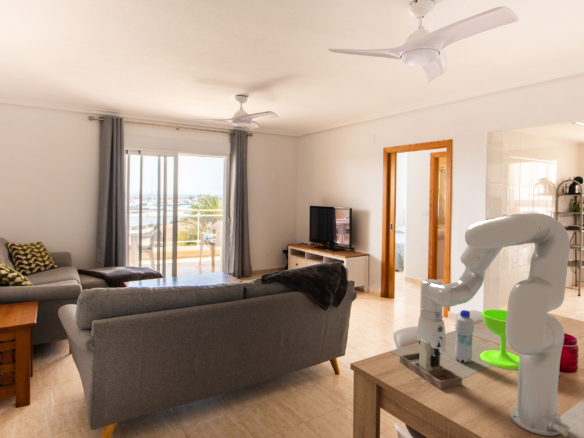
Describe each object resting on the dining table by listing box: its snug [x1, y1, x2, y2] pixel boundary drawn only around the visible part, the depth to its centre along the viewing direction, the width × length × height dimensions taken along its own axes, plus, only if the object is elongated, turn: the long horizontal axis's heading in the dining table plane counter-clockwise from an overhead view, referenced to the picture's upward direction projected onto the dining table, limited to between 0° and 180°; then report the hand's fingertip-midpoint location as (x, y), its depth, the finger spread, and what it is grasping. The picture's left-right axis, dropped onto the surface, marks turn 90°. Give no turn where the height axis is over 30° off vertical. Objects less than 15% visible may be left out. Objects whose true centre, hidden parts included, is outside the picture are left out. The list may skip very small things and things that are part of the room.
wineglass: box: [479, 308, 520, 371], centre depth 149 cm, size 16×16×18 cm
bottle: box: [454, 309, 475, 364], centre depth 148 cm, size 7×7×20 cm
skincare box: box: [419, 339, 442, 371], centre depth 138 cm, size 6×4×12 cm
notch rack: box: [399, 351, 463, 390], centre depth 138 cm, size 22×9×2 cm, turn 20°
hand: (429, 362), depth 138 cm, fingers closed on skincare box, 4 cm apart
